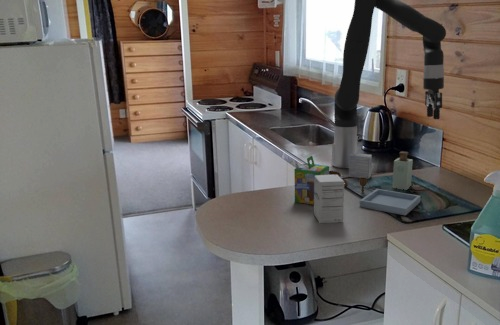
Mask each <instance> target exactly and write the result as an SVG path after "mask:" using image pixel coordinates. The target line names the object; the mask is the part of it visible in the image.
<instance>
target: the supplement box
mask: <svg viewBox="0 0 500 325" xmlns="http://www.w3.org/2000/svg"><path fill="white" fill-rule="evenodd" d="M314 177H315V179H314V205H313V215H314V216H315V218H316V219H317V220H318V223H320V224H328V223H329V224H330V223H331V224H332V223H342V222H344V203H345V187H344V181H343V180H342V179H343V178H342V177H341V178H342V179H341V178H340V177H339V176H338V175H315V176H314Z"/></svg>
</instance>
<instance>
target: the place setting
mask: <svg viewBox="0 0 500 325" xmlns="http://www.w3.org/2000/svg"><path fill="white" fill-rule="evenodd" d="M329 175H338V176H339V177H340V178H341V179H342V180H343V181H344V183H345V184H344V188H346V187H347V185H348V181H347V179H345V178H342V177H341V176H342V174H341V172H340V171H336V170H329ZM358 180H359V182H358V183H359V187H361V189H360V191H361V192H360V193H361V194H362V195H364V194H365V187H366V186H367V182H368V181H367V180H368V179H367V178H359V179H358Z"/></svg>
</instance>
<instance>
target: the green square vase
mask: <svg viewBox="0 0 500 325" xmlns="http://www.w3.org/2000/svg"><path fill="white" fill-rule="evenodd" d="M413 161H414V160H413V159H410V158H407V162H405V161H400V157H397V158H396V159H395V160H394V161H393V171H392V172H393V173H392V189H396V188H397V190H403V189H404V191H407V190H408V189H410V188H411V187H412V177H413V176H412V175H413V163H414V162H413ZM410 186H411V187H410ZM409 187H410V188H409Z"/></svg>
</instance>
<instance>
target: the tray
mask: <svg viewBox="0 0 500 325" xmlns="http://www.w3.org/2000/svg"><path fill="white" fill-rule="evenodd" d="M421 196H422V195H419V194H411V193H406V192H399V191H393V190H387V189H380V188H375V189H374V190H373V191H371V192H370V193H369V194H367V195H366V196H364V197H362V198H361V199H359V207H360V208H364V209H365V208H366V209H370V210H374V211H380V212H386V213H391V214H395V215H401V216H407V215H409V213H410V212H411V211H413V209H415V207H417V205H419V204H420V203H421V200H422V199H421Z"/></svg>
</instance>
